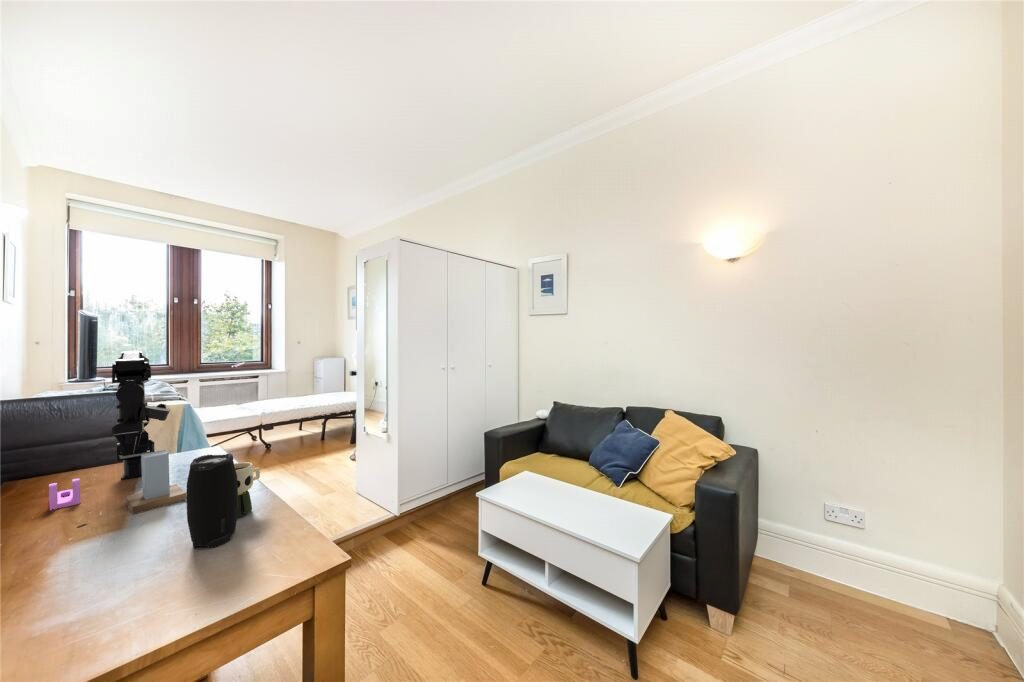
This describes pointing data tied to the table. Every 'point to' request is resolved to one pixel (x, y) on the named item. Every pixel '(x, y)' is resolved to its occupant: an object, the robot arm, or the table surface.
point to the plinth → (154, 500)
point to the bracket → (70, 500)
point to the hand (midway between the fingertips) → (133, 450)
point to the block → (155, 474)
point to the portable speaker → (212, 500)
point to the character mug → (245, 485)
